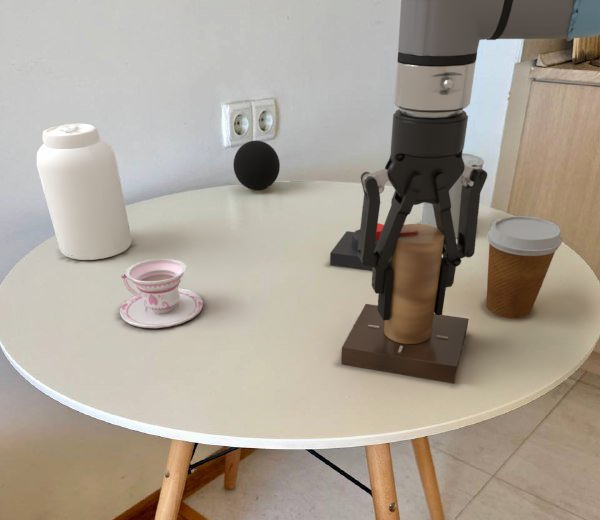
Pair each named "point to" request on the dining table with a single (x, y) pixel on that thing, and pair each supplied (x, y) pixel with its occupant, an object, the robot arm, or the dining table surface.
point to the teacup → (158, 295)
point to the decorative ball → (256, 165)
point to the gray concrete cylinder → (451, 197)
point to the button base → (348, 252)
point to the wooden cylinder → (414, 283)
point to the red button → (379, 231)
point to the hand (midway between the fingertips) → (409, 312)
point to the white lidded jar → (83, 192)
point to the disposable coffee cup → (518, 263)
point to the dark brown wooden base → (406, 347)
